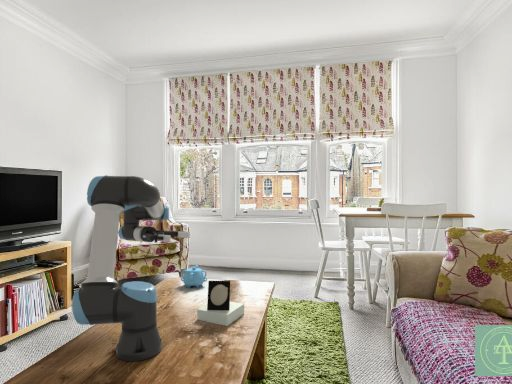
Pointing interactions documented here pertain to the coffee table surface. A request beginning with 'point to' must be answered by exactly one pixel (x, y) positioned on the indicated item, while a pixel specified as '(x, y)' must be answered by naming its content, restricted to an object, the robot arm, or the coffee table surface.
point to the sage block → (221, 314)
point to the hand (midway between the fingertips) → (180, 236)
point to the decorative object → (218, 295)
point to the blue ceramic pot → (194, 277)
